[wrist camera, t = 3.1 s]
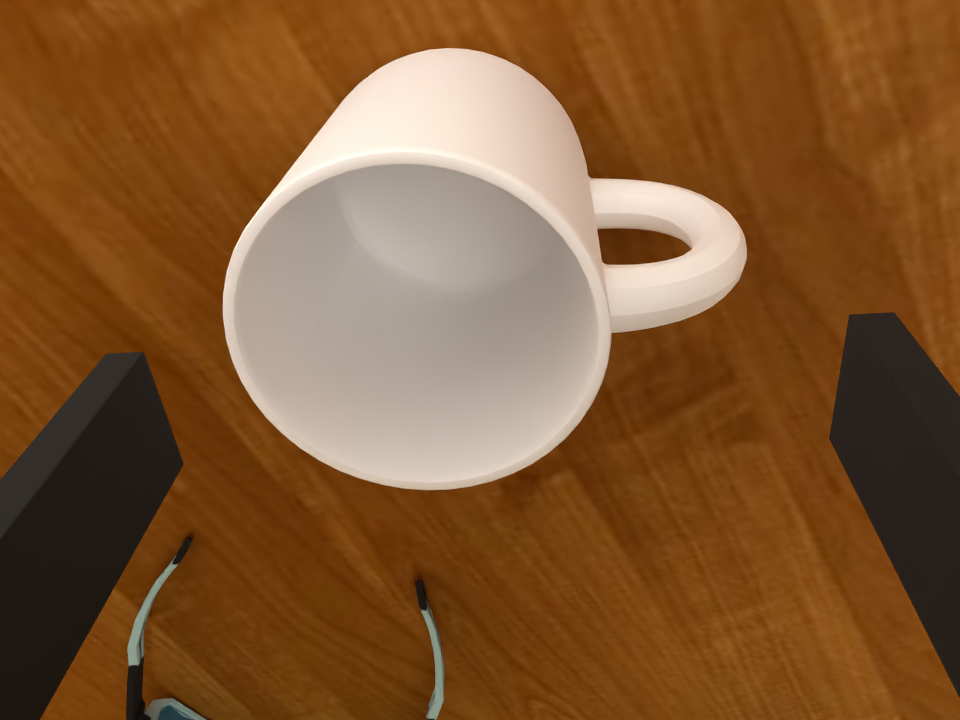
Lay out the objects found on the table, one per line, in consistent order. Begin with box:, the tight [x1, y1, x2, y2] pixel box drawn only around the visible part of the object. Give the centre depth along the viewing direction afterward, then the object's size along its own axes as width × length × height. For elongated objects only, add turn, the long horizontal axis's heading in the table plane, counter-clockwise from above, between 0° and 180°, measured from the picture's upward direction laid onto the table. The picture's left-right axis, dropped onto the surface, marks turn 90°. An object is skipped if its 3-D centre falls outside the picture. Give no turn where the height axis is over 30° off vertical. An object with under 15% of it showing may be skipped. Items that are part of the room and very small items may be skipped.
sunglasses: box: [126, 537, 444, 720], centre depth 38 cm, size 14×15×5 cm
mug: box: [223, 48, 747, 490], centre depth 22 cm, size 12×8×10 cm
